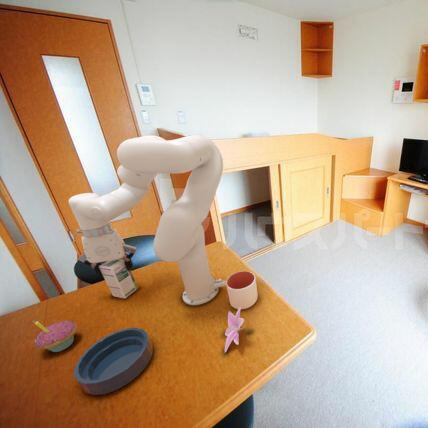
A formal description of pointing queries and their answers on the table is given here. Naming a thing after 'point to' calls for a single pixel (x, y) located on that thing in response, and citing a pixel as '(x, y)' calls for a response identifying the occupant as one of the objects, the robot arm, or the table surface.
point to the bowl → (114, 361)
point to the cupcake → (56, 336)
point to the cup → (242, 289)
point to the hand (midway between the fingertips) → (116, 271)
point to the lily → (233, 328)
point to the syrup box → (118, 278)
